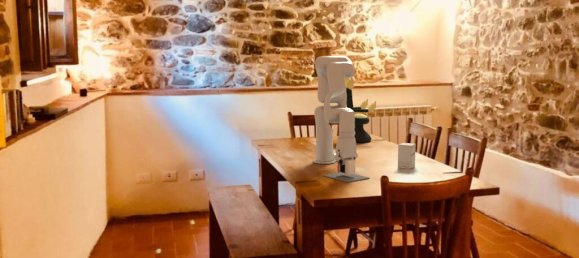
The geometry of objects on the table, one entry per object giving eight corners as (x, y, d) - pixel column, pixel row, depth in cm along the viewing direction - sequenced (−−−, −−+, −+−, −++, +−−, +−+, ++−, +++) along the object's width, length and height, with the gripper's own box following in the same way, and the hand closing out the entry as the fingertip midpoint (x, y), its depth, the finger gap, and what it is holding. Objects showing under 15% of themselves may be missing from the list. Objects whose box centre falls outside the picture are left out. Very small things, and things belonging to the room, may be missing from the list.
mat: (344, 172, 315) (344, 171, 315) (369, 178, 300) (369, 177, 300) (323, 176, 306) (323, 175, 306) (348, 182, 292) (348, 181, 292)
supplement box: (410, 169, 323) (411, 145, 321) (397, 167, 326) (397, 144, 325) (415, 166, 329) (416, 143, 327) (402, 165, 333) (402, 142, 331)
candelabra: (376, 142, 407) (377, 74, 401) (344, 144, 402) (345, 75, 396) (366, 138, 425) (367, 73, 419) (336, 139, 420) (336, 73, 414)
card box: (355, 173, 301) (355, 159, 300) (348, 175, 299) (348, 160, 298) (344, 171, 308) (344, 157, 307) (337, 172, 305) (337, 158, 304)
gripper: (354, 132, 309) (353, 168, 311) (328, 135, 299) (328, 172, 301) (364, 134, 303) (364, 170, 305) (338, 137, 293) (338, 175, 295)
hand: (346, 171), depth 303 cm, fingers closed on card box, 4 cm apart
